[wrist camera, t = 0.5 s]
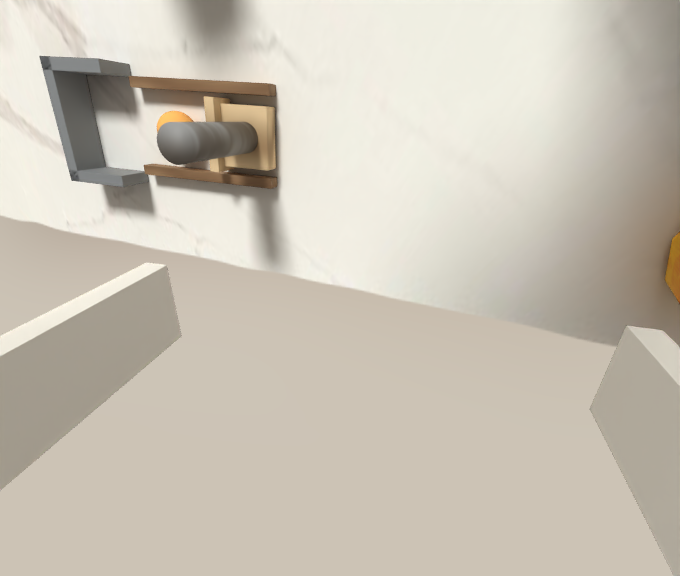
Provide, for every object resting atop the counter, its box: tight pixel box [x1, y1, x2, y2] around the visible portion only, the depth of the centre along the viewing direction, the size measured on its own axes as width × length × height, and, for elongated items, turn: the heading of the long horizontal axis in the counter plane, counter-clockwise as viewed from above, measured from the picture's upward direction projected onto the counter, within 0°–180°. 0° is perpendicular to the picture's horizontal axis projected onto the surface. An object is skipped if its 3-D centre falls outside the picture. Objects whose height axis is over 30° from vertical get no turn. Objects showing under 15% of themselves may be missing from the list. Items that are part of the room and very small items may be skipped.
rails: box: [129, 76, 277, 189], centre depth 39 cm, size 10×16×2 cm, turn 86°
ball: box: [157, 111, 193, 133], centre depth 38 cm, size 4×4×4 cm
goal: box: [39, 56, 149, 187], centre depth 40 cm, size 12×7×4 cm, turn 176°
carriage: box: [157, 96, 276, 172], centre depth 33 cm, size 7×6×13 cm
